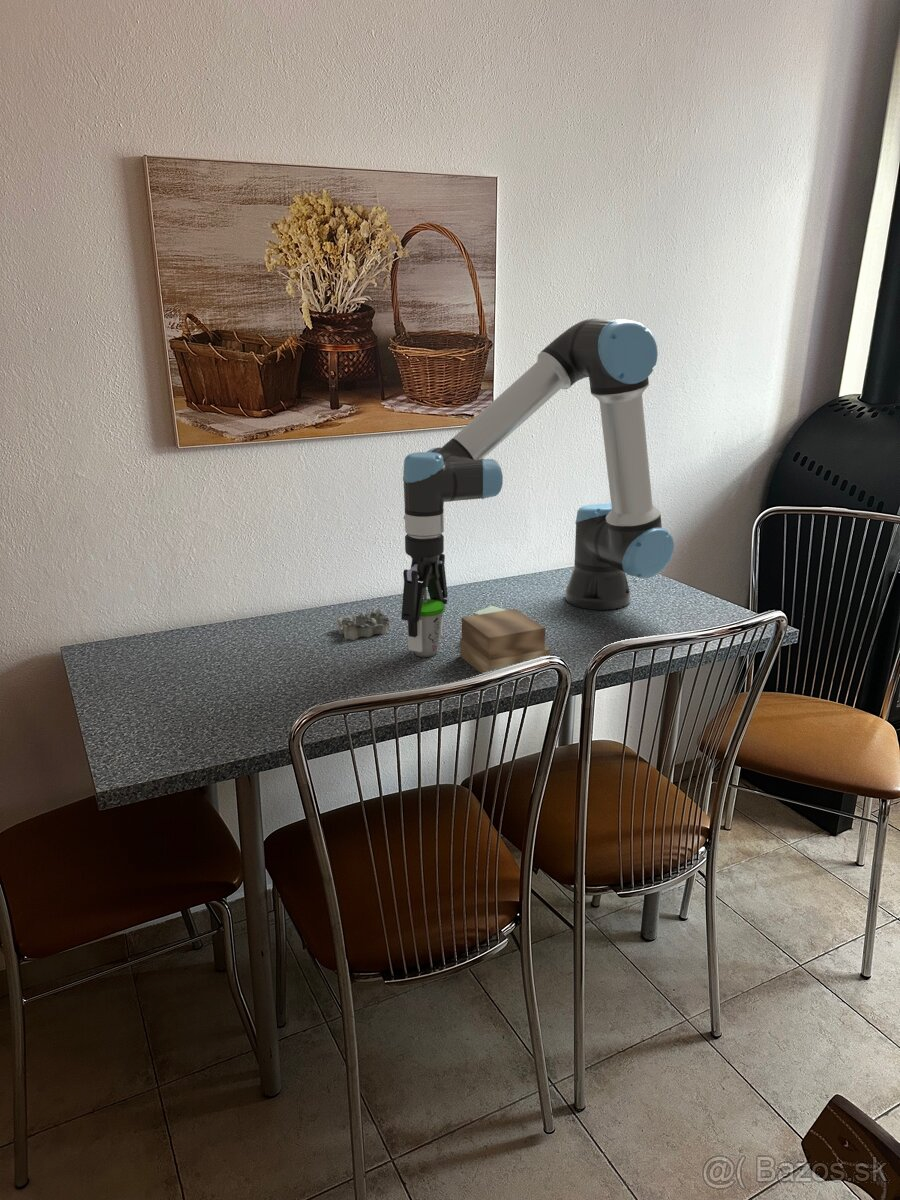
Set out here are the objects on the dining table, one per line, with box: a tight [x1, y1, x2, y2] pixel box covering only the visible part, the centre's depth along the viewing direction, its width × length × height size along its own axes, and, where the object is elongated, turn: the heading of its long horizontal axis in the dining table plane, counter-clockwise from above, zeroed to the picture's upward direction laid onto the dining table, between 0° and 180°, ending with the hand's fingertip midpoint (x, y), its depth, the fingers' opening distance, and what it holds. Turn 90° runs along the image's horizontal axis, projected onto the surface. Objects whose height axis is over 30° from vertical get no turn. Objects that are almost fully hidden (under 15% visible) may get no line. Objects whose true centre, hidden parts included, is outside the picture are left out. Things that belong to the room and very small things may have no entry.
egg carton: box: [336, 608, 393, 641], centre depth 186 cm, size 11×8×4 cm
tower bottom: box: [459, 637, 551, 674], centre depth 170 cm, size 13×13×4 cm
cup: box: [413, 587, 446, 658], centre depth 172 cm, size 8×8×15 cm
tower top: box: [461, 608, 546, 660], centre depth 168 cm, size 12×12×4 cm
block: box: [472, 605, 506, 616], centre depth 181 cm, size 6×6×6 cm
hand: (425, 642), depth 174 cm, fingers open, 9 cm apart
